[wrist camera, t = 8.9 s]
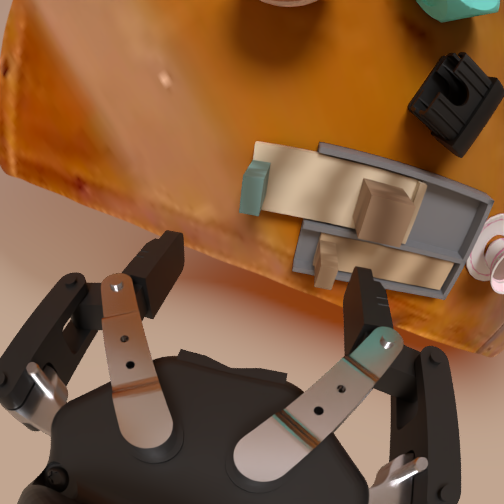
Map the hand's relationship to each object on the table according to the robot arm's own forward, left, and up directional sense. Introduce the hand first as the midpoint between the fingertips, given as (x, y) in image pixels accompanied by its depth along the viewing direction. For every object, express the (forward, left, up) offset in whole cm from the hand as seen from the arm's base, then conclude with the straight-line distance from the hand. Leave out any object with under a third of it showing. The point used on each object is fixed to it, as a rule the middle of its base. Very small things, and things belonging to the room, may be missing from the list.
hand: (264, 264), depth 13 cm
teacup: (-34, +6, -23) cm, 41 cm away
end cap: (-17, -11, -23) cm, 31 cm away
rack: (-15, +7, -23) cm, 28 cm away
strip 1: (-6, +4, -23) cm, 24 cm away
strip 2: (-15, +12, -23) cm, 30 cm away
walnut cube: (-11, +4, -21) cm, 24 cm away
